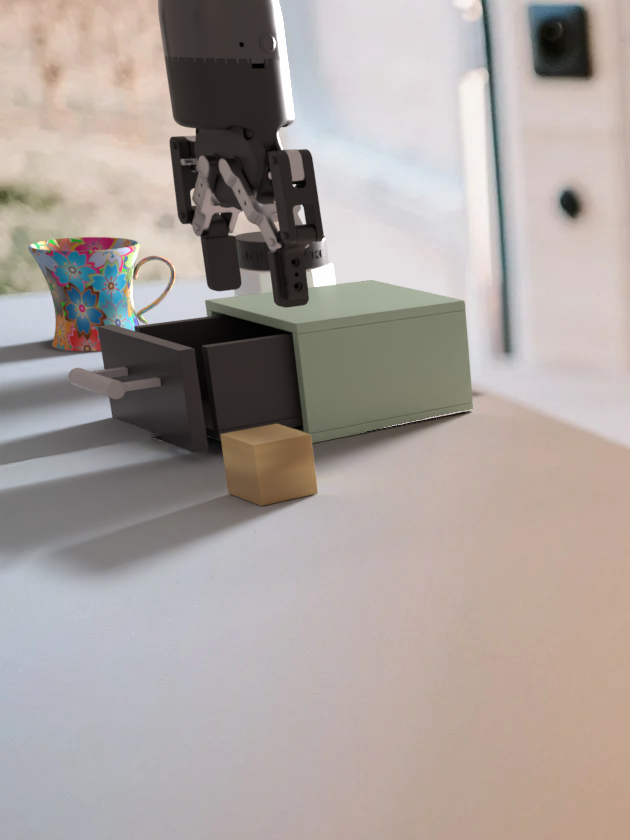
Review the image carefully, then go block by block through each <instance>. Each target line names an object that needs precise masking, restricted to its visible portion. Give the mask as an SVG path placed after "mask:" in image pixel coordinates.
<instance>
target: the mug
mask: <svg viewBox="0 0 630 840" xmlns="http://www.w3.org/2000/svg"><path fill="white" fill-rule="evenodd" d="M140 247H141V244H140V242H139V241H137V240H135V239H130V238H122V237H111V236H110V237H109V236H107V237H106V236H83V237H82V236H80V237H63V238H53V239H45V240H40V241H35V242H32V243H30V244H29V245H28V246H27V250H28V251H29V253H30V254H31V255H32V258H33V259H34V260H35V262H36V264H37V265H38V267H39V269H40V271H41V273H42V275H43V277H44V278H45V282H46V283H47V286H48V290H49V291H50V295H51V298H52V303H53V308H54V315H55V330H54V335H53V340H52V344H51V347H53V348H54V349H58V350H62V351H71V352H102V351H101V345H100V339H99V333H98V326H104V325H116V326H119V327H122V328H126V329H129V330H133V331H135V329H134V326H139V325H140V323H142V324H143V325H147V324H149V323H148V320H147V319H145V318H144V317H143V315H144V314H146V313H148V312H149V311H151V310H153V309H154V308H156V307H157V306H158V305H160V304H161V303H162V302H163V301H164V299H166V297H167V296H168V295H169V293H170V292H171V290H172V288H173V286H174V284H175V281H176V269H175V266H174V264H173V263H172V261H170V260H169V259H168V258H166V257H163V256H160V255H149V256H146V257H144V258H142V259H140V260H139V261H138V262H137V264H136V261H137V257H138V253H139V250H140ZM151 261H160V262H162V263H165V264H166V265H167V266H168V268H169V271H170V276H169V281H168V283H167V286H166V288H165V289H164V291H163V292H162V293H161V294H160V295H159V296H158V297H157V298H156V299H155V300H154V301H152V302H151V303H150V304H148V305H146V306H145V307H143V308H141V309H140V310H138V311H137V312H136V310H135V309H136V308H135V303H134V297H133V296H134V295H133V280H134V281H137V279H138V274H139V271H140V269H141V268H142V266H143V265H145V264H146V263H149V262H151ZM139 322H140V323H139Z"/></svg>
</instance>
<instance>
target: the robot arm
mask: <svg viewBox="0 0 630 840" xmlns="http://www.w3.org/2000/svg"><path fill="white" fill-rule="evenodd" d="M157 10H158V11H157V14H158V24H159V29H160V36H161V43H162V49H163V57H164V63H165V72H166V79H167V85H168V91H169V98H170V105H171V111H172V117H173V120H174V122H175V124H177V125H179V126H181V127H184V128H189V129H195V135H181V136H180V135H179V136H178V135H177V136H171V137H170V138H169V150H170V159H171V160H170V161H171V168H172V177H173V185H174V195H175V201H176V203H175V204H176V211H177V217H178V220H179V222H180V223H181V224H182V225H191V227H192V230H193V233H194V235H195V236H197V237H200V245H201V251H202V257H203V258H202V259H203V265H204V273H205V279H206V280H205V281H206V285H207V288H208V289H210V290H211V291H215V292H225V291H226V292H227V291H234V290H235V289H238V288H240V286H241V283H242V282H241V274H240V267H239V259H238V252H237V245H236V237H235V236H236V235H232V234H233V233H234V231H235V228H236V224H237V220H238V216H239V214H240V213H241V212H243V214H244V216H245V218H246V219H247V221H248V222H249V223H251V224H252V225H256V227H258V229H259V232H260V231H261V233H262V235H263V237H264V239H265V241H266V243H267V245H268V247H269V249H270V250H271V251H272V252H268V259H269V267H270V274H271V282H272V290H273V298H274V302H275V304H276V305H277V306H280V307H285V308H288V307H295V306H303V305H306V304H307V303H308V301H309V294H308V284H307V276H306V267H305V259H304V249H305V248H308V246H309V244H311V243H313V242H321V241H322V240H323V237H324V236H325V235H324V228H323V220H322V214H321V207H320V200H319V199H320V198H319V194H318V193H319V192H318V186H317V180H316V179H317V178H316V173H315V172H316V171H315V166H314V159H313V155H312V153H311V151H310V150H309V149H307V148H301V149H298V148H297V149H296V148H291V149H289V148H288V149H284V148H283V146H282V143H281V139H280V135H279V132H280V130H281V128H287V127H289V126H291V125H292V124H293V123H294V122H295V109H294V101H293V91H292V85H291V75H290V66H289V58H288V49H287V42H286V33H285V24H284V18H283V13H282V8H281V4H280V0H157ZM294 185H295V186H294ZM192 190H193V193H192V196H191V191H192ZM192 202H193V204H194V205H193V204H192ZM302 208H303V213H304V220H305V223H304V224H303V222H302V220H301V217H300V216H299V212H300V211H301V209H302ZM277 222H278V227H277V226H276V224H275V223H277ZM278 229H279V230H278Z"/></svg>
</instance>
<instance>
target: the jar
mask: <svg viewBox="0 0 630 840" xmlns="http://www.w3.org/2000/svg"><path fill="white" fill-rule="evenodd" d="M234 236H235V237H236V245H237V252H238V259H239V267H240V274H241V282H242V283H241V286H240V288H238V289H235V290H233V293H234V297H235V296H243V295H251V294H259V293H268V292H273V290H272V282H271V274H270V267H269V259H268V252H272V251H271V250H270V249H269V247H268V245H267V243H266V241H265V239H264V237H263V235H262V233H261V231H260V230H259V231H251V232H244V233H239V234H236V235H234ZM328 254H329V253H328V245H327V238H326V236H325V235H324V237H323V240H322V241H321V242H313V243H311V244H309V246H308V248H305V249H304V259H305V267H306V276H307V284H308V288H309V287H317V286H326V285H334V284H337V282H336V275H335V274H336V273H335V266H334V265H335V264H334V263H333V262H329V255H328Z"/></svg>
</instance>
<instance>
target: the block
mask: <svg viewBox="0 0 630 840" xmlns="http://www.w3.org/2000/svg"><path fill="white" fill-rule="evenodd" d="M220 436H221V441H220V443H221V450H222V457H223V465H224V470H225V471H224V473H225V479H226V486H227V492H228V494H229V495H232V496H235V497H237V498H240V499H243V500H245V501H248V502H250V503H252V504H255V505H257V506H261V507H263V506H269V505H272V504H277V503H280V502H285V501H289V500H295V499H299V498H304V497H308V496H311V495H316V494H318V493H319V492H318V490H319V489H318V483H317V474H316V465H315V458H314V457H315V455H314V448H313V443H312V439H311V434H308V433H305V432H302V431H299V430H296V429H293V428H289V427H286V426H283V425H280V424H272V425H266V426H261V427H256V428H250V429H245V430H240V431H234V432H229V433H224V434H220Z"/></svg>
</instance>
